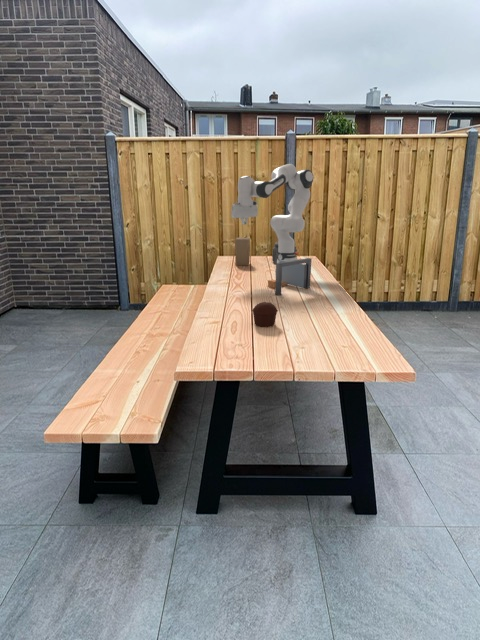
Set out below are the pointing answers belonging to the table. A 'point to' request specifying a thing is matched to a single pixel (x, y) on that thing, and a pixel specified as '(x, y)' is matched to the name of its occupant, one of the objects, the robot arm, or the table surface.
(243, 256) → the wooden block
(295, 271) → the door
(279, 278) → the door frame
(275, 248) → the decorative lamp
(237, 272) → the table surface
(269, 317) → the muffin
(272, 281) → the orange stepped block
